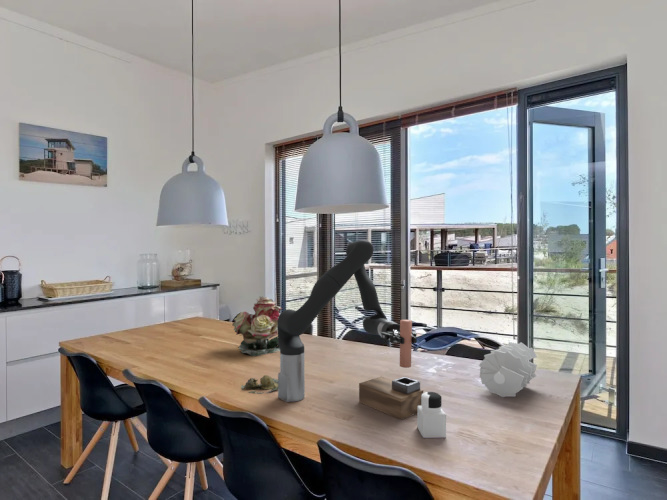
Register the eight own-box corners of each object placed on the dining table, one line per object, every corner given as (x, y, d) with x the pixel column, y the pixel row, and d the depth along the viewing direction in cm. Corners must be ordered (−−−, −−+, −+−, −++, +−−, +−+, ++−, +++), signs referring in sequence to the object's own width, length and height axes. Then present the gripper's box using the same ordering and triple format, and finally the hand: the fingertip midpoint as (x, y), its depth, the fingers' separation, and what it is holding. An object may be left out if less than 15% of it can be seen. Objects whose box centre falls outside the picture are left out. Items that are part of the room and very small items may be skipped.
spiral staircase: (487, 406, 153) (507, 385, 173) (532, 397, 143) (547, 376, 162) (466, 360, 158) (487, 345, 177) (508, 348, 147) (526, 333, 167)
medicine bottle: (439, 427, 127) (439, 389, 127) (446, 437, 120) (446, 398, 120) (417, 427, 127) (417, 389, 127) (422, 438, 120) (422, 398, 120)
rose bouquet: (229, 347, 229) (229, 295, 228) (278, 342, 241) (278, 292, 241) (239, 359, 206) (239, 300, 205) (293, 352, 218) (293, 297, 218)
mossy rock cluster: (293, 384, 169) (293, 371, 169) (265, 398, 153) (266, 383, 153) (261, 377, 178) (261, 365, 178) (232, 389, 162) (232, 376, 162)
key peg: (406, 368, 138) (406, 322, 138) (397, 365, 141) (397, 320, 141) (413, 366, 141) (414, 320, 141) (404, 363, 144) (405, 319, 144)
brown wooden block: (401, 419, 133) (401, 389, 132) (359, 402, 148) (359, 375, 148) (423, 410, 140) (423, 381, 140) (381, 394, 156) (381, 368, 155)
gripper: (372, 321, 153) (390, 330, 136) (407, 320, 157) (428, 329, 140) (372, 341, 153) (390, 352, 136) (406, 339, 157) (427, 350, 140)
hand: (409, 340), depth 138 cm, fingers closed on key peg, 4 cm apart
